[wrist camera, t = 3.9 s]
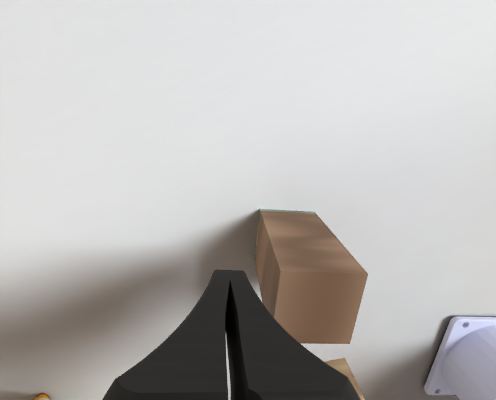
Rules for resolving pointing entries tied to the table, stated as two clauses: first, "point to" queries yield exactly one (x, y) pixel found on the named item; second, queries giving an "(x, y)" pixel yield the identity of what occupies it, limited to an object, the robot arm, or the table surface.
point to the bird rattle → (42, 397)
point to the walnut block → (307, 277)
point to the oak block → (345, 373)
